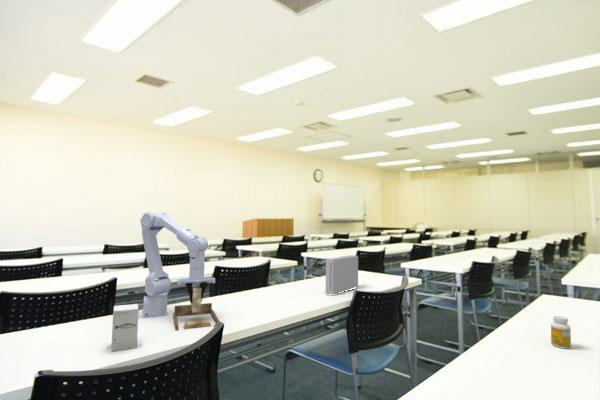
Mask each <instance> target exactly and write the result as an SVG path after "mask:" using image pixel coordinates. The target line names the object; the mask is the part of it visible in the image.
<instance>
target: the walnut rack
mask: <svg viewBox="0 0 600 400" xmlns="http://www.w3.org/2000/svg"><path fill="white" fill-rule="evenodd" d="M212 308H213V303H212V302H209V303H207V302H205V303H201V312H194V313H193V312H192V309H191V304H185V305H174V312H173V315H172V317H173V322H174V323H173V324H174V330H175V331H179V321H178V317H186V316H187V317H188V316H198V315H206V314H207V315H208V314H210V316H211V317H212V320H213V321H214V323H215V324H216V323H218V322H220V323H221V321H220V319H219V318H218V316H217V314H216V312H215V311H214V309H212Z"/></svg>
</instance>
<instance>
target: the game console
mask: <svg viewBox="0 0 600 400" xmlns="http://www.w3.org/2000/svg"><path fill="white" fill-rule="evenodd" d="M358 286H359V255H343V256H338V257H331V258H325V294H326V293H327V294H332V295H333V294H336V293H339V292H342V291H345V290H348V289H351V288H354V287H357V288H358ZM327 294H326V295H327ZM332 295H331V296H332ZM333 296H334V295H333Z"/></svg>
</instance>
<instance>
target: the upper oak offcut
mask: <svg viewBox="0 0 600 400" xmlns="http://www.w3.org/2000/svg"><path fill="white" fill-rule="evenodd" d="M210 324H211V321H210V319H202V320H193V321H184V326H185V330H189V329H188V328H193V329H199V328H198V327H202V328H208V327H207V326H210ZM210 327H211V326H210Z"/></svg>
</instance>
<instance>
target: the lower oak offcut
mask: <svg viewBox="0 0 600 400" xmlns="http://www.w3.org/2000/svg"><path fill="white" fill-rule="evenodd" d="M182 327H183V330H186V329H185V325H182ZM208 327H213V325H212V324H211V323H210V326H207V327H206V328H208ZM200 328H201V329H202V328H203V327H198V328H197V329H200ZM191 329H192V330H193V329H194V328H188V329H187V330H191Z"/></svg>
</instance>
